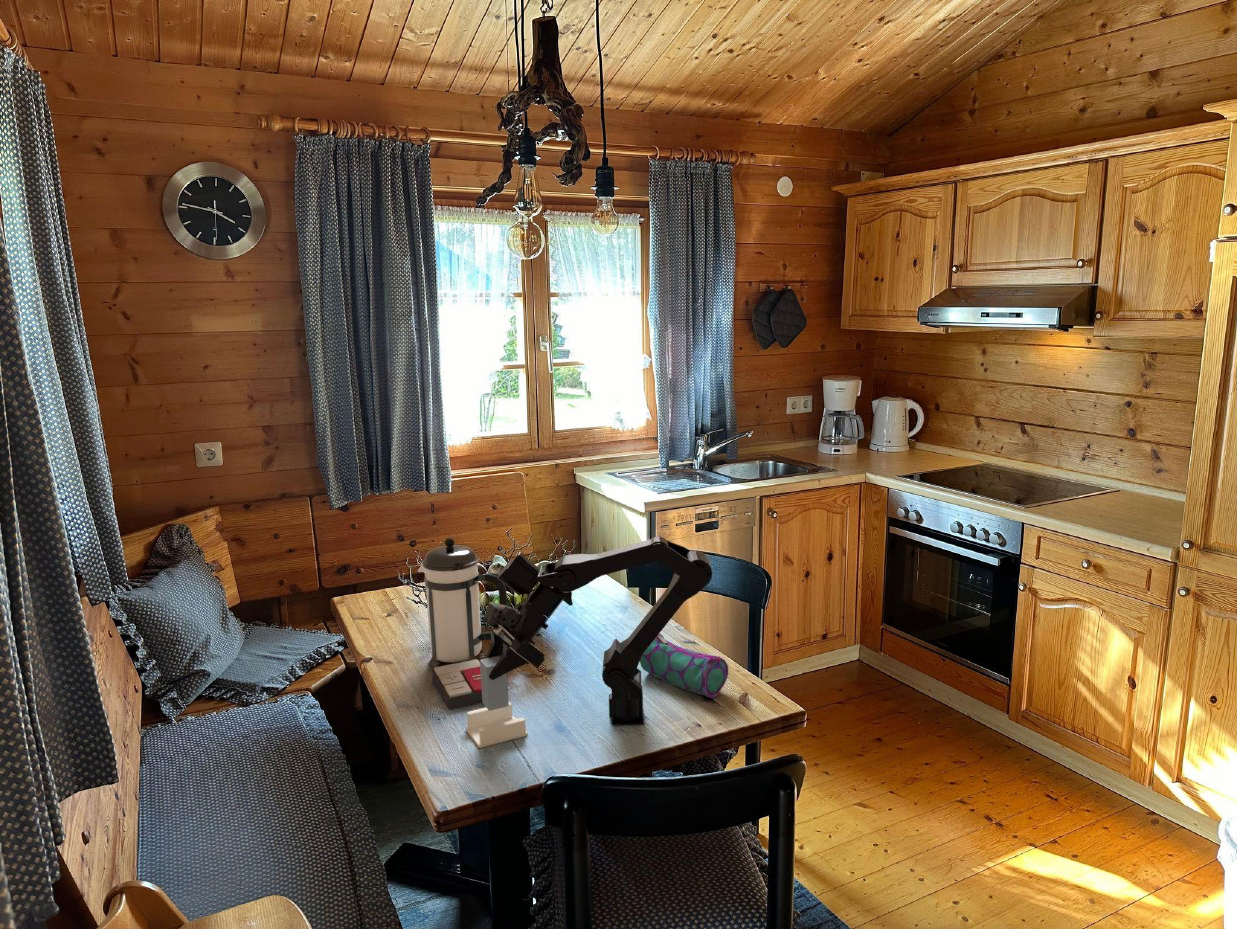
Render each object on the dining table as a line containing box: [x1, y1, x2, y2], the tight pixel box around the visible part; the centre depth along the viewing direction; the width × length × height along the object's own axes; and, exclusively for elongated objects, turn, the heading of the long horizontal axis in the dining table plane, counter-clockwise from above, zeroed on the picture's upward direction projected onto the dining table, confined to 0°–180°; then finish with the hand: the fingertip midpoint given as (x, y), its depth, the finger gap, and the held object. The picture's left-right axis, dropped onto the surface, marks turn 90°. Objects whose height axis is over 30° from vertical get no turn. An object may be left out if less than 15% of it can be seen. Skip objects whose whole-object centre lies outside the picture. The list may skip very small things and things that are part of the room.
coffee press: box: [417, 537, 508, 670], centre depth 206 cm, size 17×16×30 cm
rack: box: [465, 701, 529, 749], centre depth 173 cm, size 10×9×4 cm
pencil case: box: [639, 632, 729, 699], centre depth 193 cm, size 21×9×10 cm, turn 44°
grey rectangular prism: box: [479, 656, 509, 711], centre depth 172 cm, size 4×4×9 cm
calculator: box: [431, 658, 483, 711], centre depth 192 cm, size 11×4×15 cm
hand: (486, 674), depth 171 cm, fingers closed on grey rectangular prism, 4 cm apart
